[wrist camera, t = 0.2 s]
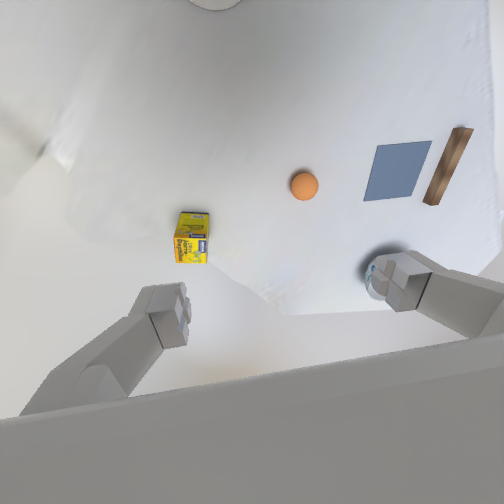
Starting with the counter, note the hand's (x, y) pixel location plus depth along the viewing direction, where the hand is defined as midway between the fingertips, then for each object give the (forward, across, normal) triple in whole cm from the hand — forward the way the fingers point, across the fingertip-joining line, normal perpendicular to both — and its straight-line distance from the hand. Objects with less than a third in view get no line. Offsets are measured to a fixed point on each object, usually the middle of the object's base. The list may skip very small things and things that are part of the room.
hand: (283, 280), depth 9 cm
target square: (+39, -36, +5) cm, 53 cm away
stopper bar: (+39, -47, +5) cm, 61 cm away
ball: (+36, -14, +5) cm, 39 cm away
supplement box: (+40, +10, +12) cm, 43 cm away
